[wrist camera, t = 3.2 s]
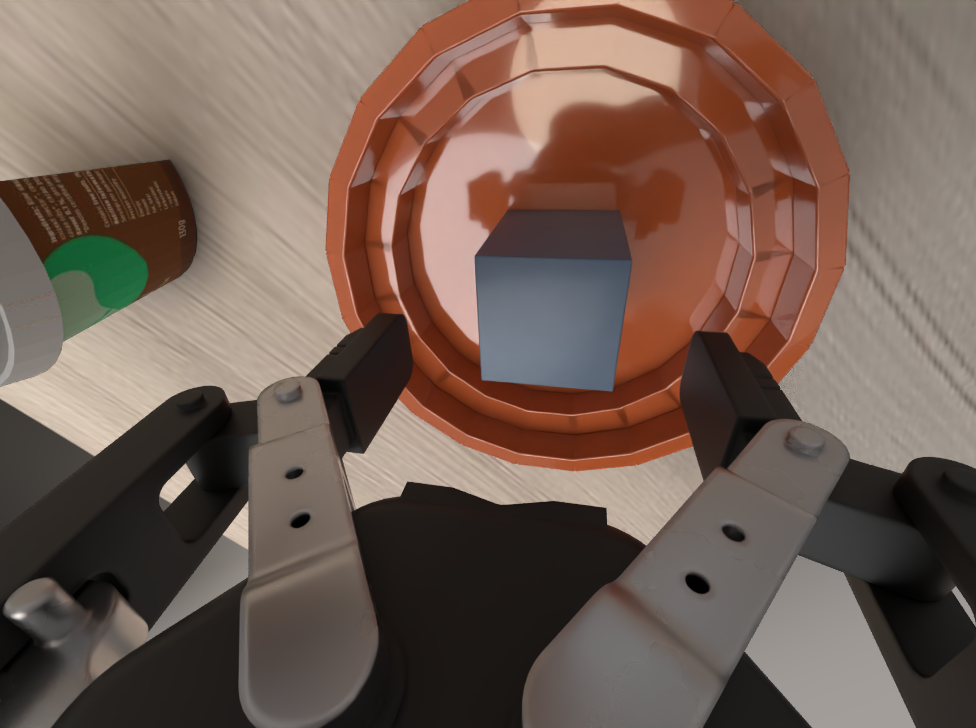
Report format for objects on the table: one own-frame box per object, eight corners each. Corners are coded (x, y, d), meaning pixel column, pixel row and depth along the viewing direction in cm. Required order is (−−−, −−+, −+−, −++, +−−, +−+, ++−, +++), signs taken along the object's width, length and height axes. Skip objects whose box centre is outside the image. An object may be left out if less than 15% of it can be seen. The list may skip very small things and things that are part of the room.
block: (620, 210, 16) (633, 259, 12) (607, 314, 19) (612, 392, 14) (507, 209, 17) (473, 255, 12) (508, 308, 20) (481, 380, 15)
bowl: (884, -29, 12) (993, -73, 9) (724, 432, 22) (748, 494, 18) (332, 20, 16) (262, 0, 12) (402, 400, 25) (373, 447, 22)
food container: (118, 321, 26) (-98, 425, 18) (38, 224, 23) (-262, 295, 15) (266, 273, 22) (73, 380, 14) (191, 148, 19) (-108, 190, 11)
